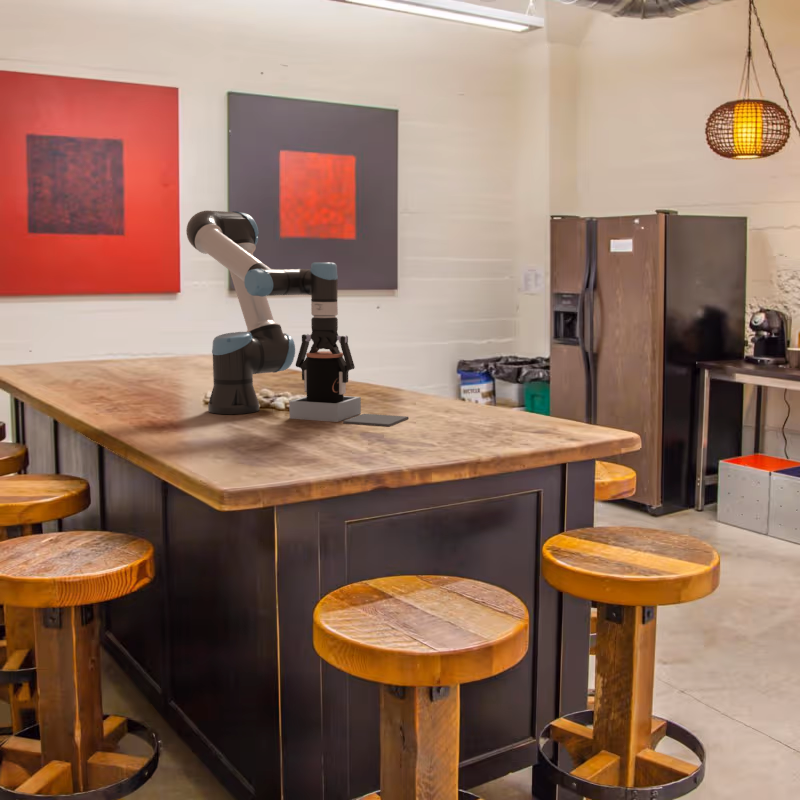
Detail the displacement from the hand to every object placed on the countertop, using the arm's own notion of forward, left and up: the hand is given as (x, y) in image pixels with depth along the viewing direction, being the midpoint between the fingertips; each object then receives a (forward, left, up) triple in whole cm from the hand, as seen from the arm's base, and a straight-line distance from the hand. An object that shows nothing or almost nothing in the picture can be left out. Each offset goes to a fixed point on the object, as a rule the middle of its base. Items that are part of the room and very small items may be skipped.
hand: (325, 392), depth 267 cm
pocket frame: (0, 0, -7) cm, 7 cm away
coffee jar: (0, 0, -7) cm, 7 cm away
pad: (+17, -2, -7) cm, 19 cm away
